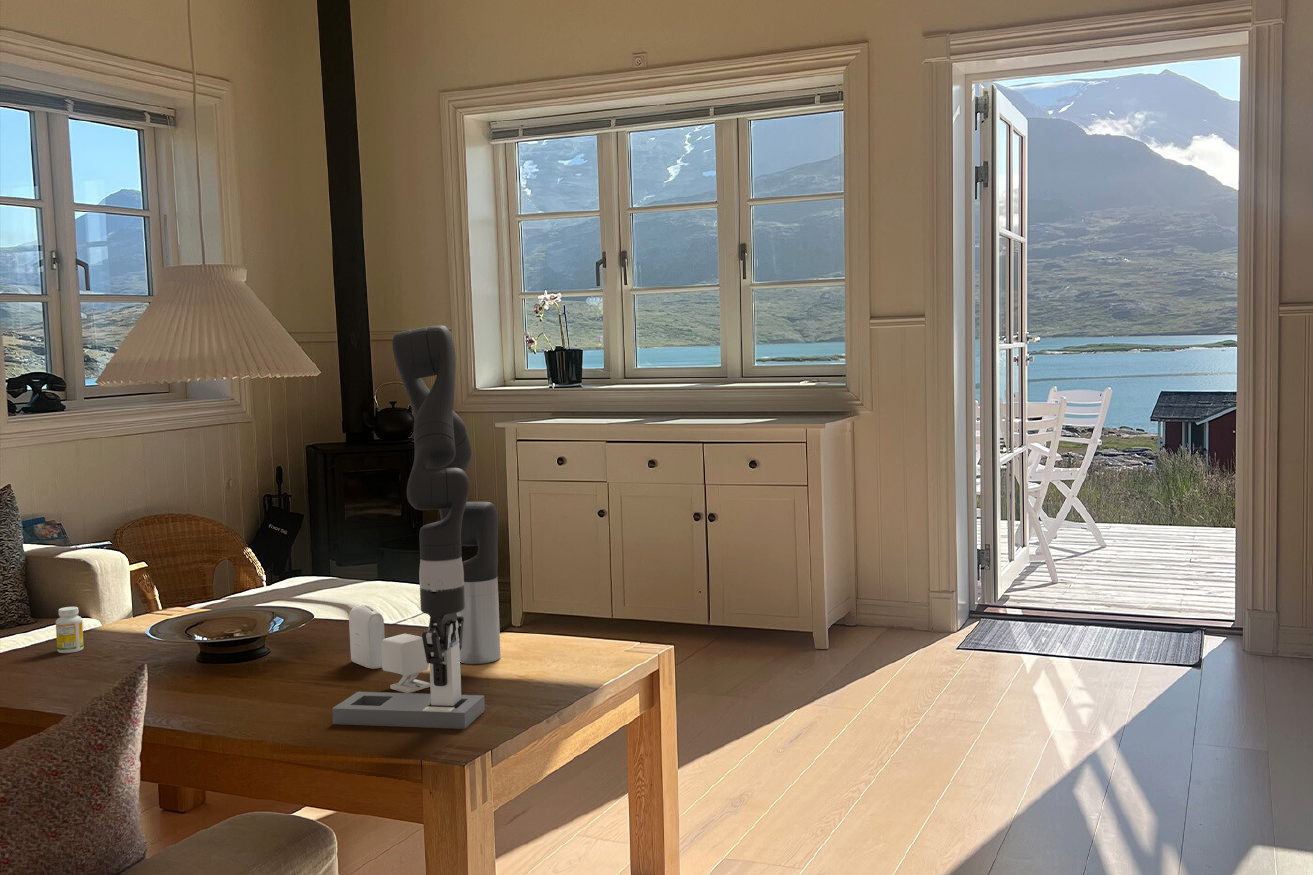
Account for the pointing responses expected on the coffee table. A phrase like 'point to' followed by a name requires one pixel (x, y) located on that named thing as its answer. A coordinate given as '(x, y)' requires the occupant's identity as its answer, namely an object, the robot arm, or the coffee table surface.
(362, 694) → the socket panel
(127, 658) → the coffee table surface
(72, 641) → the supplement bottle
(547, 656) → the coffee table surface
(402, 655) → the white cube on bracket
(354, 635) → the photo printer
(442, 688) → the plug
